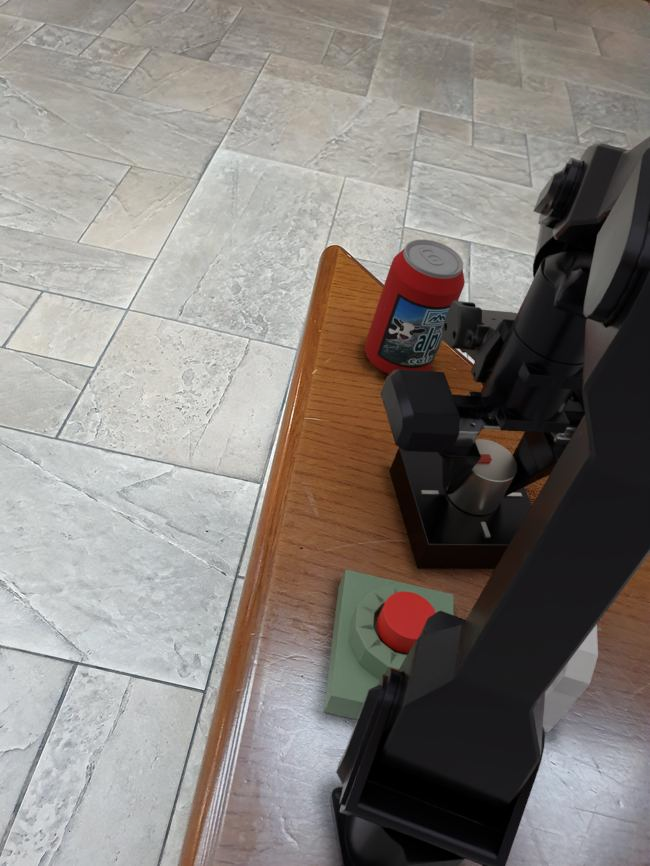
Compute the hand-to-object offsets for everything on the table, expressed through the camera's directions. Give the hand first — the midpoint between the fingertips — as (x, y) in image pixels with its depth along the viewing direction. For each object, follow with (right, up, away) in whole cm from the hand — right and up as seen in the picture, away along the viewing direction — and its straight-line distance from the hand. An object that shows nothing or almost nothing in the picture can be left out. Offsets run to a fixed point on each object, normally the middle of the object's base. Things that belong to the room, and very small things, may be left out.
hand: (474, 490), depth 67 cm
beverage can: (-5, +11, +16) cm, 20 cm away
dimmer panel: (-1, -2, +2) cm, 4 cm away
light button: (-7, -8, -11) cm, 15 cm away
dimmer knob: (0, 0, 0) cm, 0 cm away
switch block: (-7, -11, -9) cm, 16 cm away
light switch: (+4, -12, -5) cm, 13 cm away
